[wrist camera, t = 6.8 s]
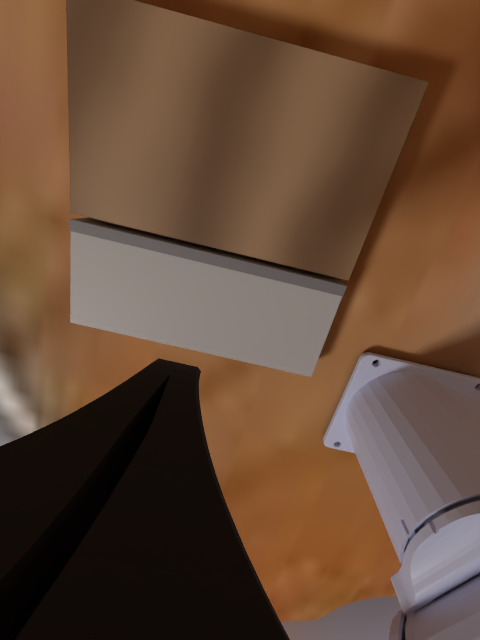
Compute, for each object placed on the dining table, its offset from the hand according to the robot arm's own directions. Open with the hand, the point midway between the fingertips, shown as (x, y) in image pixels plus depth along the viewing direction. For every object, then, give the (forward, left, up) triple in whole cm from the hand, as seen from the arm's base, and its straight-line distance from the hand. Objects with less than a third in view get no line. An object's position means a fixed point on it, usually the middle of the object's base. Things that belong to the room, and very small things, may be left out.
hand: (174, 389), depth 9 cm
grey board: (0, 0, -9) cm, 9 cm away
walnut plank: (+1, -8, -9) cm, 12 cm away
